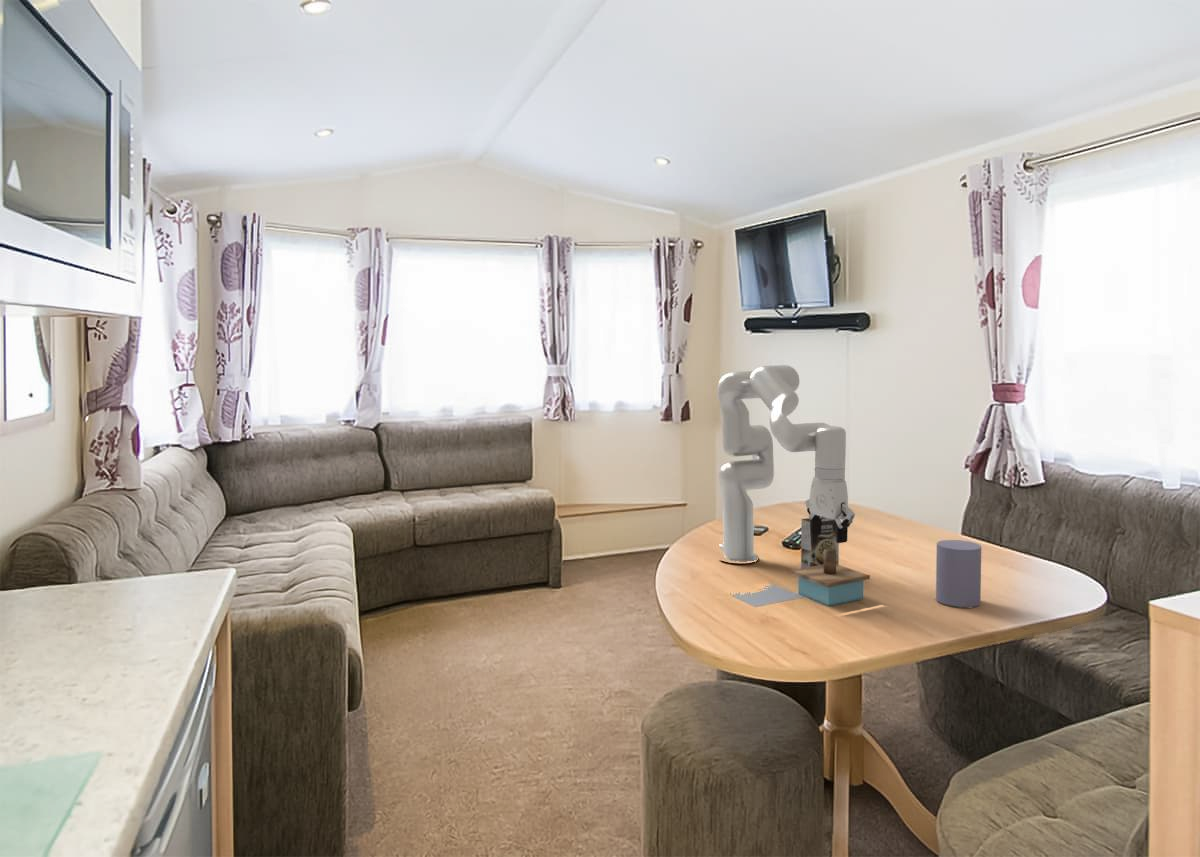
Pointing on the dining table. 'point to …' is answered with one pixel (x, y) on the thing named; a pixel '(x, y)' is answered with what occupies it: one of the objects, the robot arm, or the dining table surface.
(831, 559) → the lid
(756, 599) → the mat
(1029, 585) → the dining table surface
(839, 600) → the open box
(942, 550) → the container
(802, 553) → the coffee box
